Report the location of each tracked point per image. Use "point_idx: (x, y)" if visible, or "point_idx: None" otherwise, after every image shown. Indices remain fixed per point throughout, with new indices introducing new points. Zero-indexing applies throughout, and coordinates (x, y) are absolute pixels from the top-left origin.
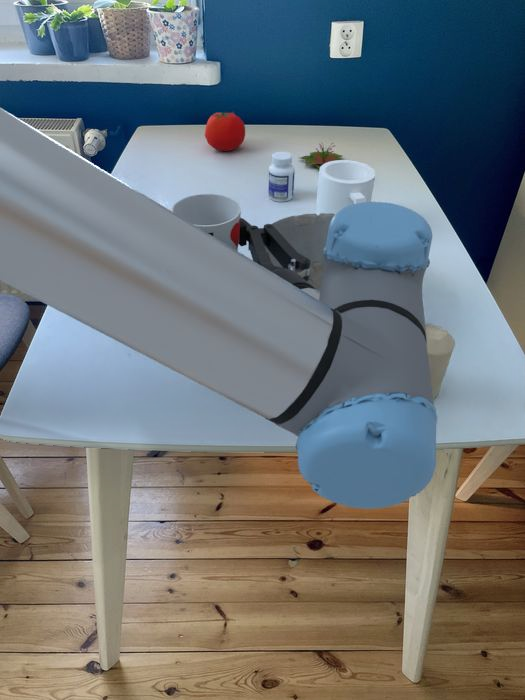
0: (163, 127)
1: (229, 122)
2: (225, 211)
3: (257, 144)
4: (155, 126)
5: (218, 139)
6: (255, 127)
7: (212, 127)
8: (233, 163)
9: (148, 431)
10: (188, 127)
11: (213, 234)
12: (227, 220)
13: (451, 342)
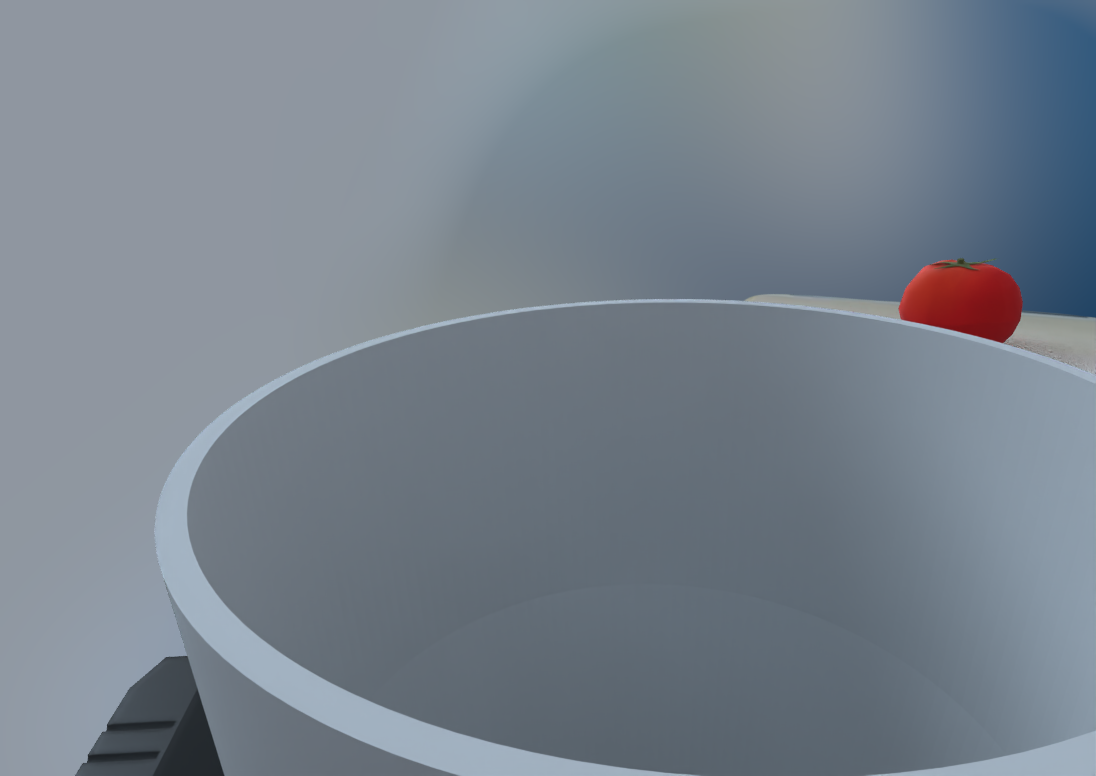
0: (800, 298)
1: (977, 280)
2: (950, 505)
3: (1052, 352)
4: (783, 294)
5: (936, 320)
6: (1046, 318)
7: (924, 289)
8: None
9: None
10: (861, 303)
11: None
12: (957, 606)
13: None
